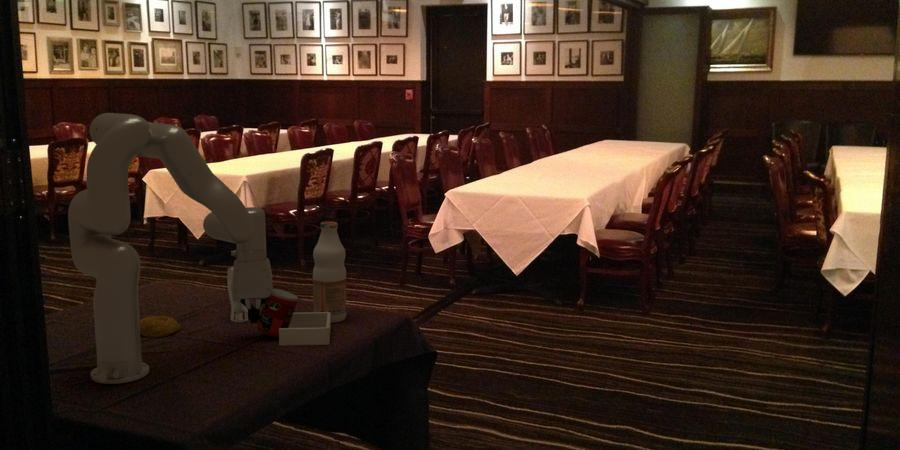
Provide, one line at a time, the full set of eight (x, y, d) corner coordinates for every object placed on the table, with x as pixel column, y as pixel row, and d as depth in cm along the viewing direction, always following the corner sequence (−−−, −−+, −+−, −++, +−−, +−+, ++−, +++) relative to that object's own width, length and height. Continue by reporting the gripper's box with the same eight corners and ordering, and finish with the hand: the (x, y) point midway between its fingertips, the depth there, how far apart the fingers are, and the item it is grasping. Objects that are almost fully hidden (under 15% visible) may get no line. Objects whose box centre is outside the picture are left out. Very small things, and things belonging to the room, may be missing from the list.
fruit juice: (306, 320, 233) (305, 224, 228) (324, 312, 241) (323, 218, 236) (335, 325, 229) (334, 227, 224) (352, 316, 238) (352, 221, 232)
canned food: (253, 324, 219) (265, 286, 219) (280, 330, 223) (293, 292, 223) (260, 334, 213) (273, 294, 212) (288, 339, 217) (302, 300, 216)
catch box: (329, 344, 213) (329, 328, 212) (279, 345, 211) (278, 329, 211) (330, 327, 227) (330, 312, 226) (283, 328, 226) (283, 312, 225)
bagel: (183, 335, 219) (182, 318, 218) (140, 341, 214) (139, 323, 213) (177, 325, 227) (176, 308, 227) (135, 330, 222) (134, 313, 222)
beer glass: (257, 316, 236) (255, 265, 233) (249, 323, 229) (247, 271, 227) (233, 315, 237) (232, 264, 234) (225, 322, 230) (223, 270, 227)
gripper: (220, 258, 209) (223, 327, 213) (280, 257, 211) (282, 325, 215) (224, 252, 217) (227, 318, 220) (281, 251, 219) (283, 317, 222)
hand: (254, 322), depth 218 cm, fingers closed
